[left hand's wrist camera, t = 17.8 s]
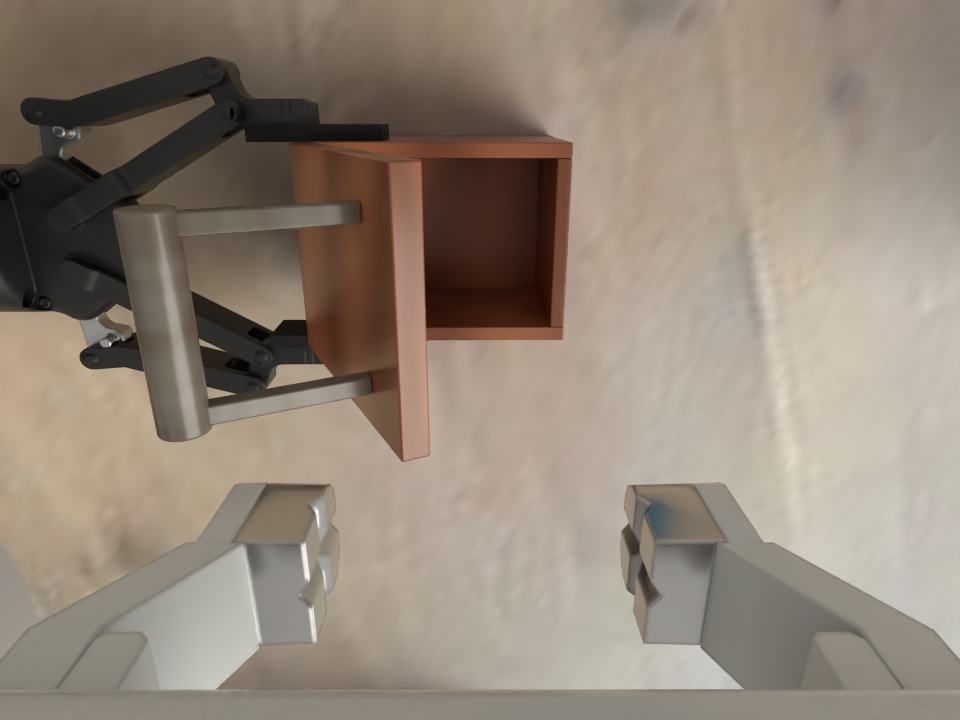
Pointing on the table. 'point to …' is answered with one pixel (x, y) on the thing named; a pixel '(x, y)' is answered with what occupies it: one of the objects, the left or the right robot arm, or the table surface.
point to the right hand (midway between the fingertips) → (390, 238)
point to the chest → (490, 232)
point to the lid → (327, 295)
